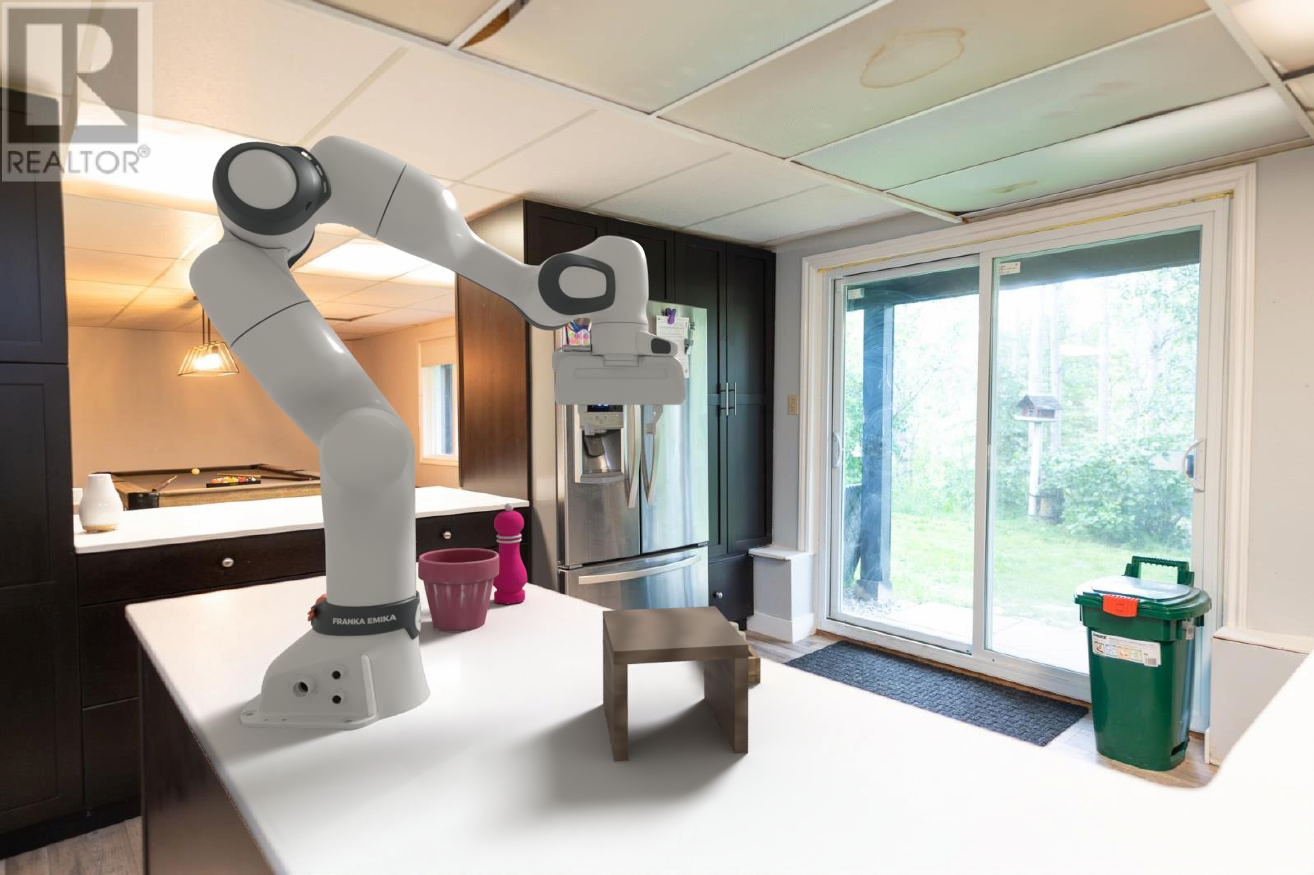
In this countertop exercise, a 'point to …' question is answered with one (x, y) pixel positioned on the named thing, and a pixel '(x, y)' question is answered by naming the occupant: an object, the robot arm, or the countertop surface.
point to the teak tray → (751, 660)
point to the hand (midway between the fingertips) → (620, 434)
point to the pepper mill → (509, 558)
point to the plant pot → (458, 586)
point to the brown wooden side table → (676, 641)
